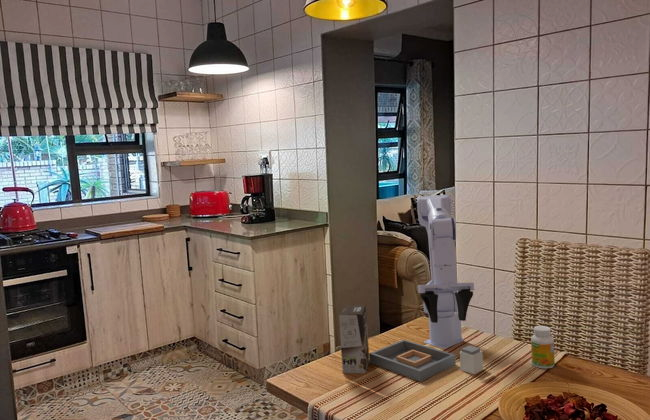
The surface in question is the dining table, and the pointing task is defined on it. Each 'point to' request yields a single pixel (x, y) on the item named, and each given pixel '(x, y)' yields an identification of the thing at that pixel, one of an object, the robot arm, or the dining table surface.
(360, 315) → the coffee box
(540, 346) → the supplement bottle
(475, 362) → the plug block
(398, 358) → the inlet socket
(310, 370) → the dining table surface
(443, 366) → the walled box
